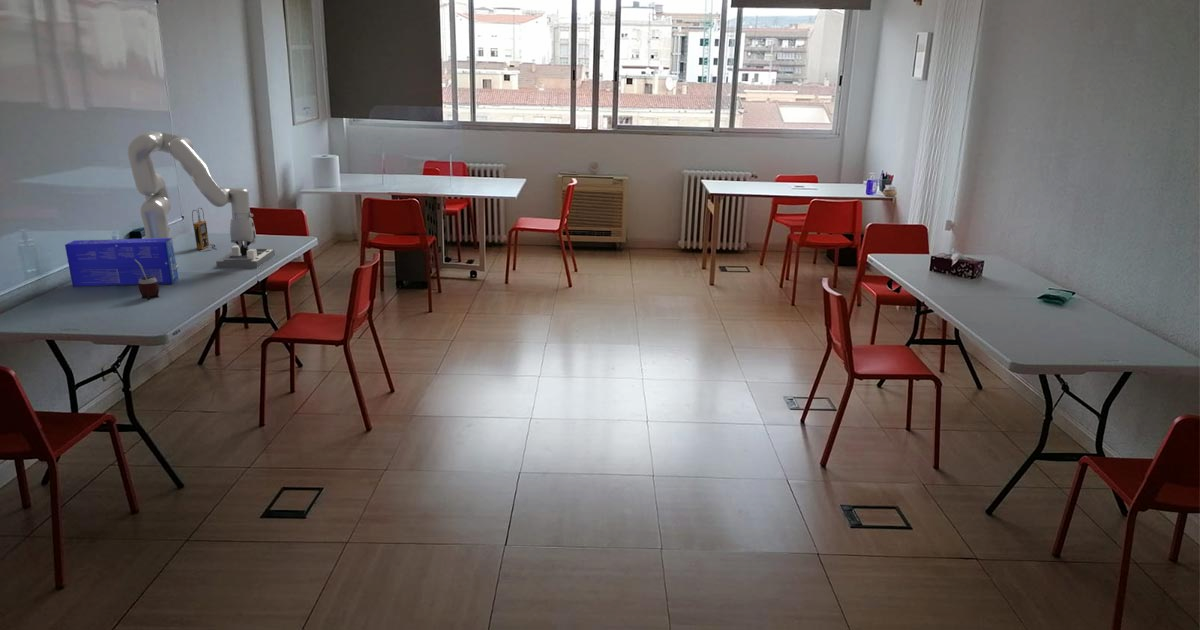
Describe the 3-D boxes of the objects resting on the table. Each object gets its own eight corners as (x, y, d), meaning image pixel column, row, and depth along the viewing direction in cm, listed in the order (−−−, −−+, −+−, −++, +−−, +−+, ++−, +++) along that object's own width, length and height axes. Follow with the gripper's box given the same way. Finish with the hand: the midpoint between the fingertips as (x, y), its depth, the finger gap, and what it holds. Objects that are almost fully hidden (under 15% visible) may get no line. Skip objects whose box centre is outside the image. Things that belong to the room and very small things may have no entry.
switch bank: (257, 268, 369) (256, 260, 368) (216, 267, 369) (215, 260, 367) (274, 255, 392) (274, 248, 391) (236, 255, 391) (235, 247, 390)
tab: (254, 259, 371) (253, 251, 370) (247, 259, 371) (246, 251, 370) (257, 257, 375) (256, 249, 374) (250, 257, 375) (249, 249, 374)
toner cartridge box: (179, 279, 349) (173, 237, 344) (172, 284, 341) (166, 242, 336) (81, 281, 343) (73, 239, 337) (72, 287, 335) (63, 243, 330)
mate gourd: (158, 299, 321) (152, 262, 317) (135, 300, 319) (129, 263, 314) (162, 294, 328) (156, 258, 323) (140, 295, 326) (134, 259, 321)
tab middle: (238, 255, 377) (237, 247, 376) (232, 255, 377) (231, 247, 376) (242, 253, 381) (241, 245, 380) (235, 253, 381) (234, 245, 380)
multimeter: (213, 252, 397) (208, 211, 390) (193, 251, 397) (187, 211, 391) (227, 245, 411) (222, 206, 404) (207, 244, 411) (202, 205, 405)
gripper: (261, 214, 371) (263, 254, 377) (227, 213, 370) (230, 252, 376) (255, 218, 364) (258, 257, 369) (221, 216, 363) (224, 256, 368)
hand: (244, 255), depth 372 cm, fingers closed
